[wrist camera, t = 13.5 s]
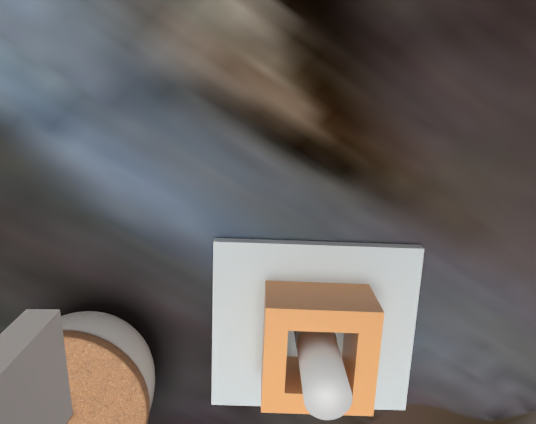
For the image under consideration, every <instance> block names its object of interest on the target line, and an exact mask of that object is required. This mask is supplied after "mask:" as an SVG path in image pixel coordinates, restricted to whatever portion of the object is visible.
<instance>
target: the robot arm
mask: <svg viewBox="0 0 536 424" xmlns="http://www.w3.org/2000/svg"><path fill="white" fill-rule="evenodd" d="M72 414H73V410H72V402H71V394H70V386H69V378H68V370H67V361H66V353H65V345H64V337H63V329H62V321H61V313H60V309H26V310H25V311H24V312H23V313H22V314H21V315H20V316H19V317H18V318H17V319H16V320H15V321H14V322H13V323H12V324H10V325H9V326H8V327H7V328H6V329H5V330H4V331H3V332H2V333H1V334H0V424H67V422H68V420H69V419H70V417H71V415H72Z"/></svg>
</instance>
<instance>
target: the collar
mask: <svg viewBox="0 0 536 424" xmlns="http://www.w3.org/2000/svg"><path fill="white" fill-rule="evenodd" d="M383 321H384V311H383V309H382V307H381V305H380V304H379V302H378V300H377V298H376V296H375V294H374V293H373V291H372V289H371V287H370V285H369V284H346V283H320V282H293V281H267V280H265V302H264V324H263V346H262V369H261V413H291V414H310V413H309V412H308V411H307V409H306V407H305V405H304V399H303V392H302V384H301V376H300V368H299V360H298V357H292V356H287V343H288V331H306V332H333V333H344V339H343V350H342V361H343V364H344V367H345V371H346V374H347V378H348V381H349V385H350V388H351V392H352V396H353V400H352V404H351V407H350V408H349V410H348V411H347V412H346V413H345V414H344V415H351V416H373V413H374V404H375V395H376V386H377V376H378V367H379V358H380V348H381V339H382V330H383Z"/></svg>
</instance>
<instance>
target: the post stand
mask: <svg viewBox="0 0 536 424" xmlns="http://www.w3.org/2000/svg"><path fill="white" fill-rule="evenodd" d="M423 257H424V248H423V247H422V246H421V245H413V244H384V243H354V242H325V241H295V240H266V239H237V238H214V241H213V312H212V395H211V405H238V406H261V369H262V346H263V324H264V302H265V280H267V281H293V282H320V283H346V284H369V285H370V287H371V289H372V291H373V293H374V294H375V296H376V298H377V300H378V302H379V304H380V305H381V307H382V309H383V311H384V321H383V330H382V339H381V348H380V358H379V367H378V376H377V386H376V395H375V404H374V409H379V410H405V408H406V400H407V392H408V383H409V375H410V366H411V358H412V350H413V341H414V333H415V324H416V316H417V307H418V299H419V291H420V282H421V274H422V265H423ZM343 339H344V333H333V332H306V331H288V343H287V356H292V357H298V360H299V368H300V376H301V384H302V392H303V399H304V405H305V407H306V409H307V411H308V412H309V413H310V414H311V415H312V416H314V417H316V418H318V419H321V420H333V419H337V418H339V417H341V416H343V415H344V414H345V413H346V412H347V411H348V410H349V408H350V407H351V404H352V400H353V396H352V392H351V388H350V385H349V381H348V378H347V374H346V371H345V367H344V364H343V361H342V350H343Z"/></svg>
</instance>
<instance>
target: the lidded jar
mask: <svg viewBox="0 0 536 424" xmlns="http://www.w3.org/2000/svg"><path fill="white" fill-rule="evenodd" d="M61 321H62V329H63V337H64V345H65V353H66V361H67V370H68V378H69V386H70V394H71V402H72V410H73V414H72V415H71V417H70V419H69V420H68V422H67V424H147V422H148V418H149V411H150V408H151V405H152V401H153V395H154V389H155V366H154V361H153V357H152V355H151V352H150V349H149V347H148V345H147V343H146V342H145V340H144V338H143V337H142V336H141V335H140V333H139V332H138V331H137V330H136V329H135V328H134V327H132V326H131V325H130V324H128V323H127V322H125V321H124V320H122V319H120V318H118V317H116V316H114V315H111V314H107V313H103V312H97V311H82V312H74V313H70V314H66V315H63V316H61Z"/></svg>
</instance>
